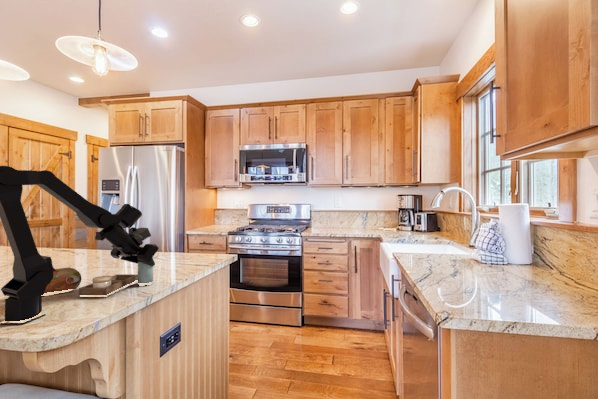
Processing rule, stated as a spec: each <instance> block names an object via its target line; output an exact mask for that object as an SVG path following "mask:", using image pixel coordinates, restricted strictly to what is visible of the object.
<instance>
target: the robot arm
mask: <svg viewBox="0 0 598 399" xmlns="http://www.w3.org/2000/svg"><path fill="white" fill-rule="evenodd" d="M23 186H38V187H40V188H41V189H43V190H44V191H45V192H46V193H47V194H49V195H50V196H53V197H54V198H55V199H56V200H58V201H59V202H61V204H63V205H65V206H66V207H68V208H69V209H70V210H71V211H73V212H74V213H75V214H76V216H77V218H78V219H79V220H80V221H81V222H82V223H83V224H84V225H85V226H86V227H87V228H90V229H101V230H99V231H95V237H94V240H95V241H101V242H102V241H104V240H106V241H108V242H109V243H110V244H111V247H112V249H111V250H110V256H111V257H112V259H118V260H119V259H120V260H122V261H125V262H129V263H134V264H137V265H138V262H140V263H144V264H147V265H150V266H153V267H154V266H155V265H156V264H155V261H154V256H155V254H156V253H157V252H158V251H159V248H160V247H159V246H158V245H157V244H155V243H146V244H145V245H143V243H144V241H145V240H146V239H148V238H150V237H151V236H152V233H151V232H150V230H149V227H137V228H136V227H133V226H134V225H135V224H136V223H137V222H138V221H139V220H140V219H141V217H143V212H141V210H140V209H138V208H136V207H135V206H132V205H131V204H130V203H123V205H121V208H120V209H118V210H117V212H116V213H112V212H111V211H109V210H107V209H105V208H103V207H102V206H99V205H97V204H94V203H92V202H90V201H89V200H87V199H86V198H85V197H83V196H82V195H80V193H78V192H77V191H75V190H74V189H73V188H72V187H71V186H69V185H68V184H66V183H65V182H64V181H63V180H62V179H60V178H58V177H57V176H56V175H55V173H54V172H52V171H50V170H47V169H46V170H44V169H43V170H31V169H30V170H28V169H23V170H22V169H21V170H20V169H15V168H14V167H12V166H9V165H0V221H1V224H2V227H3V230H4V232H5V235H6V237H7V240H8V243H9V245H10V249H11V252H12V254H13V265H12V276H13V277H12V278H11V279H10V280H8V281H7V282H6V283H5V284H4V285H3V286H2V287H1V288H0V290H1V293H2V294H3V296H4V297H7V298H5V299H4V320H5V321H20V320H25V319H29V318H32V317H34V316H36V315H38V314H39V313H40V312H41V311H42V310H43V297H42V296H41V295H43V294H44V292H45V290H46V287H47V285H48V284H49V283H50V282H51V280H52V279H53V277H54V273H53V271H56V270H55V269H56V268H55V267H54V265H53V261H52V257H51V256H48V255H47V256H46V255H41V253H39V251H38V248H37V245H36V242H35V239H34V236H33V233H32V231H31V228H30V225H29V221H28V218H27V216H26V213H25V209H24V206H23V204H22V196H23V195H22V194H23ZM127 228H129V229H128V232H127V231H126V229H127ZM140 246H144V247H140ZM152 257H153V258H152ZM138 259H139V260H138ZM42 312H43V311H42Z"/></svg>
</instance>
